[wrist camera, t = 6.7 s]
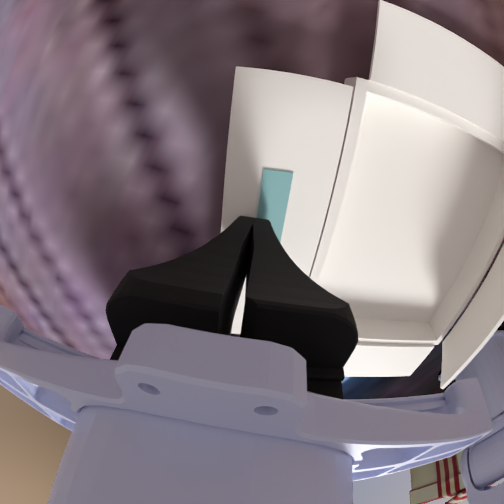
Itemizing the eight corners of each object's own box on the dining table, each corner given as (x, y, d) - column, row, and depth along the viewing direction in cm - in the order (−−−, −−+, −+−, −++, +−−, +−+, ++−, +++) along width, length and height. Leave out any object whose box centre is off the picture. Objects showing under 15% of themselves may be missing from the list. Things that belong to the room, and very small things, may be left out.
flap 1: (235, 66, 8) (236, 67, 9) (215, 333, 16) (216, 328, 16) (354, 87, 9) (350, 86, 9) (289, 337, 16) (289, 332, 17)
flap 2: (531, 170, 9) (534, 172, 9) (442, 342, 17) (445, 343, 16) (564, 190, 5) (567, 193, 5) (440, 388, 13) (443, 389, 13)
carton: (519, 96, 8) (544, 103, 6) (407, 353, 21) (414, 375, 19) (354, 9, 8) (368, -5, 6) (280, 346, 21) (279, 371, 19)
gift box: (386, 439, 36) (392, 523, 21) (469, 386, 26) (494, 490, 11) (439, 435, 38) (448, 502, 23) (507, 388, 28) (528, 463, 13)
